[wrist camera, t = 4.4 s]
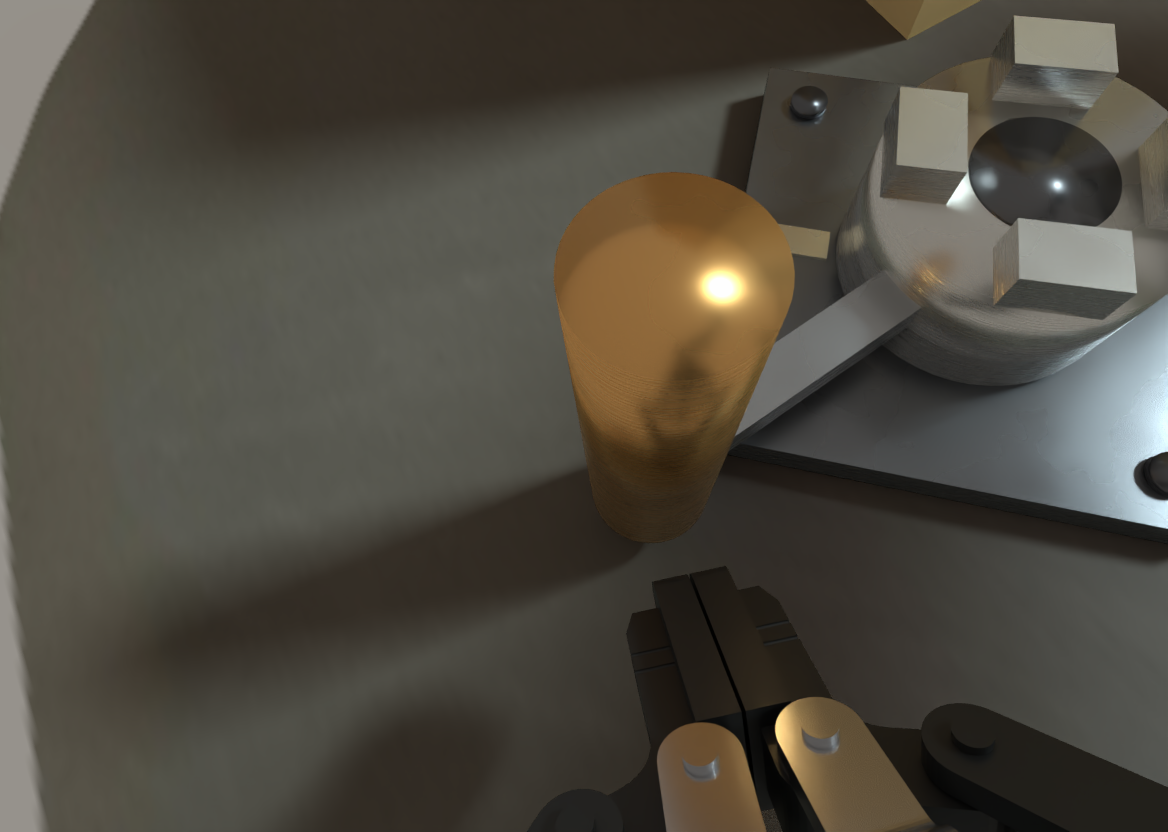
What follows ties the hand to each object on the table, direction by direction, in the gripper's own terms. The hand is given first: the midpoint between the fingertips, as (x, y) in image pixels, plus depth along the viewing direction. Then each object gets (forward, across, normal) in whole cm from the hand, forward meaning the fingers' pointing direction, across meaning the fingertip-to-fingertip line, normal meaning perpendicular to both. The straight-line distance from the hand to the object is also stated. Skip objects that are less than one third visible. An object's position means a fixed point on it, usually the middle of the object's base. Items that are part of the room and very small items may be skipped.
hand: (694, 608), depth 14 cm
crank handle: (+8, +7, +2) cm, 10 cm away
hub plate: (+10, +11, +2) cm, 15 cm away
